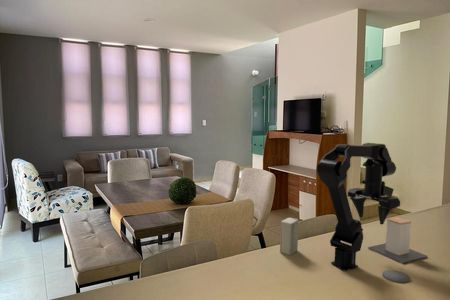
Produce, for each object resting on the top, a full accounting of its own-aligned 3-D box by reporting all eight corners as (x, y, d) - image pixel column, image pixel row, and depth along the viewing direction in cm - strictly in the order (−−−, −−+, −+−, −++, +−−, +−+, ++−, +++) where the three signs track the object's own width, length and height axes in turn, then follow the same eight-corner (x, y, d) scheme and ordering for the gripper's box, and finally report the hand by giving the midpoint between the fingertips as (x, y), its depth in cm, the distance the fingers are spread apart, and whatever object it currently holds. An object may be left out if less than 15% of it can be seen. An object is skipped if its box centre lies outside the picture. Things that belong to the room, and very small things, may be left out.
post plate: (403, 264, 121) (403, 251, 120) (368, 248, 134) (368, 237, 134) (427, 257, 126) (428, 245, 126) (391, 243, 140) (392, 232, 139)
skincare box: (287, 247, 135) (288, 216, 133) (298, 250, 132) (299, 219, 130) (279, 252, 130) (280, 220, 128) (289, 255, 127) (290, 223, 126)
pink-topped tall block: (398, 255, 126) (400, 223, 125) (385, 249, 132) (387, 218, 130) (408, 252, 129) (411, 221, 128) (395, 247, 134) (397, 217, 133)
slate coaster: (398, 285, 106) (398, 283, 106) (376, 274, 113) (376, 272, 113) (415, 279, 109) (415, 278, 109) (393, 269, 117) (393, 268, 117)
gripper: (412, 181, 120) (409, 225, 122) (368, 172, 137) (366, 211, 139) (389, 183, 115) (387, 229, 117) (347, 174, 132) (345, 214, 134)
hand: (371, 220), depth 127 cm, fingers open, 9 cm apart
